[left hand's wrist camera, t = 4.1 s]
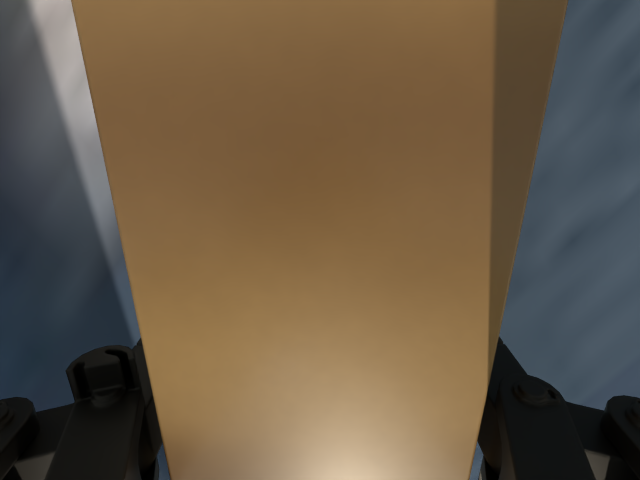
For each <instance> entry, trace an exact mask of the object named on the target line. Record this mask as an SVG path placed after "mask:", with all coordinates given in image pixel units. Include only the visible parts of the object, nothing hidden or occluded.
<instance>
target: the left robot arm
mask: <svg viewBox="0 0 640 480" xmlns="http://www.w3.org/2000/svg"><path fill="white" fill-rule="evenodd" d="M66 374H67V377H68V380H69V383H70V387H71V390H72V393H73V396H74V400H75V402H74V403H72V404H69V405H65V406H61V407H57V408H52V409H48V410H44V411H39V412H36V411H35V408H34V405H33V403H32V402H31V401H30V400H28V399H27V398H21V397H13V398H7V399H2V400H0V480H158V478H159V465H158V460H157V454H158V451H159V449H160V447H161V445H162V443H163V441H162V436H161V431H160V426H159V421H158V417H157V412H156V407H155V402H154V397H153V392H152V388H151V383H150V378H149V373H148V368H147V364H146V359H145V354H144V349H143V344H142V339H141V338H140V340H139V341H138V342H137V346H134V348H133V349H132V350H131V349H130V348H129V347H126V346H121V345H113V346H105V347H101V348H97V349H94V350H92V351H90V352H87V353H85V354H83V355H81V356H80V357H79V358H77V359H76V360H75V361H73V362H72V363H71V364H70V366H69V367H68V368H67V369H66ZM477 441H478V443H479V446H480V448H481V450H482V452H483V454H484V455H483V460H482V464H481V469H480V473H479V478H478V480H640V398H637V397H631V396H625V395H623V396H614V397H612V398H611V399H610V400H608V402H607V404H606V407H605V410H604V411H603V410H599V409H594V408H590V407H586V406H581V405H577V404H573V403H569V402H566V401H565V400H564V398H563V397H562V395H561V394H560V392H559V391H557V390H556V389H555V388H554V387H553V386H551V385H550V384H549V383H547V382H545V381H543V380H541V379H539V378H537V377H533V376H530V375H527V373H526V372H525V371H524V369H523V368H522V367H521V365H520V364H519V363H518V361H517V360H516V359H515V357H514V356H513V355H512V353H511V352H510V350H509V349H508V348H507V346H506V345H505V344H503V341H502V340H501V338H500V337H499V338H498V342H497V347H496V352H495V357H494V362H493V367H492V372H491V376H490V381H489V386H488V391H487V396H486V401H485V405H484V410H483V415H482V420H481V425H480V430H479V434H478V439H477Z"/></svg>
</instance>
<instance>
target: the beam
mask: <svg viewBox="0 0 640 480" xmlns="http://www.w3.org/2000/svg"><path fill="white" fill-rule="evenodd" d="M71 2H72V7H73V12H74V16H75V21H76V26H77V31H78V36H79V41H80V45H81V50H82V55H83V60H84V65H85V69H86V74H87V79H88V84H89V89H90V94H91V98H92V103H93V108H94V113H95V118H96V123H97V127H98V132H99V137H100V142H101V147H102V151H103V156H104V161H105V166H106V171H107V176H108V180H109V185H110V190H111V195H112V200H113V204H114V209H115V214H116V219H117V224H118V229H119V233H120V238H121V243H122V248H123V253H124V257H125V262H126V267H127V272H128V277H129V282H130V286H131V291H132V296H133V301H134V306H135V311H136V315H137V320H138V325H139V330H140V335H141V339H142V344H143V349H144V354H145V359H146V364H147V368H148V373H149V378H150V383H151V388H152V392H153V397H154V402H155V407H156V412H157V417H158V421H159V426H160V431H161V436H162V441H163V445H164V450H165V455H166V460H167V465H168V470H169V474H170V479H171V480H469V478H470V473H471V468H472V463H473V459H474V454H475V449H476V444H477V439H478V434H479V430H480V425H481V420H482V415H483V410H484V405H485V401H486V396H487V391H488V386H489V381H490V376H491V372H492V367H493V362H494V357H495V352H496V347H497V342H498V338H499V333H500V328H501V323H502V318H503V313H504V309H505V304H506V299H507V294H508V289H509V284H510V280H511V275H512V270H513V265H514V260H515V255H516V251H517V246H518V241H519V236H520V231H521V226H522V222H523V217H524V212H525V207H526V202H527V197H528V193H529V188H530V183H531V178H532V173H533V168H534V164H535V159H536V154H537V149H538V144H539V139H540V135H541V130H542V125H543V120H544V115H545V110H546V106H547V101H548V96H549V91H550V86H551V81H552V77H553V72H554V67H555V62H556V57H557V52H558V48H559V43H560V38H561V33H562V28H563V23H564V19H565V14H566V9H567V4H568V0H71Z"/></svg>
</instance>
